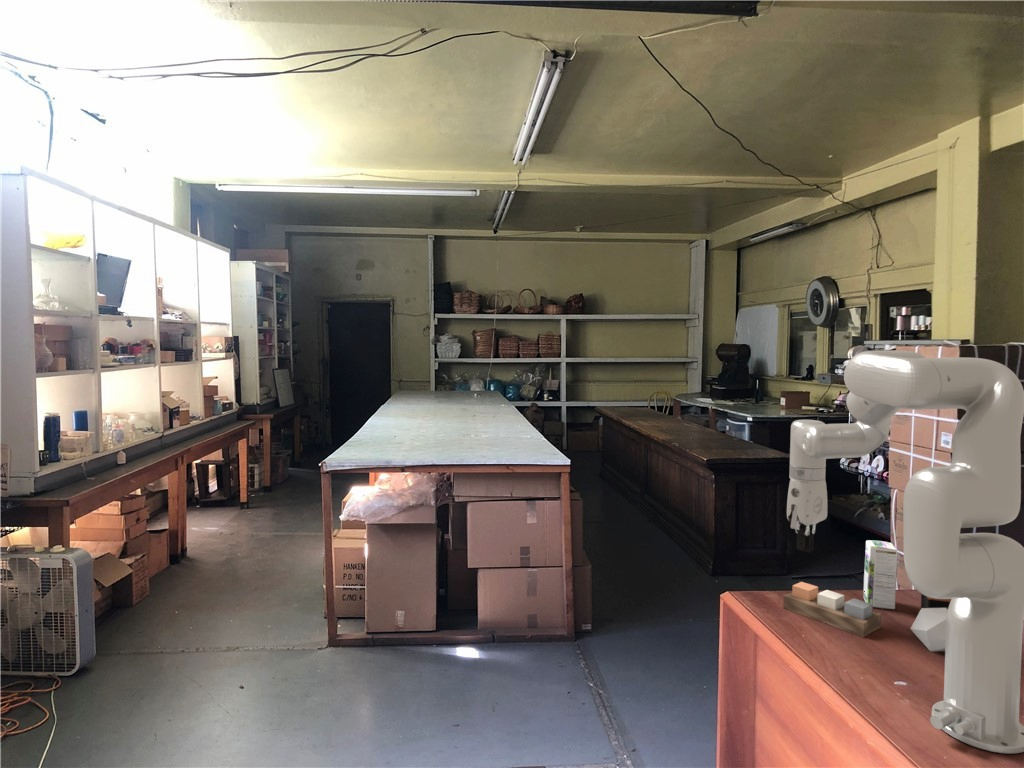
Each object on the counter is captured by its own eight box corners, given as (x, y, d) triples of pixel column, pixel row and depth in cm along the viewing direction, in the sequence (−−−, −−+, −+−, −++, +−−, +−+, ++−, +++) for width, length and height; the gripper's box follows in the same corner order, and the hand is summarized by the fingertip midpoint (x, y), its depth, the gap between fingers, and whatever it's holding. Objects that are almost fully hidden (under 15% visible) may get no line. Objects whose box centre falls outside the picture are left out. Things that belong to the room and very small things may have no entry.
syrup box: (862, 597, 149) (864, 539, 148) (890, 600, 147) (891, 541, 146) (867, 606, 143) (869, 546, 143) (896, 610, 141) (898, 549, 141)
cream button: (844, 608, 137) (844, 595, 137) (835, 612, 135) (835, 599, 135) (826, 602, 141) (826, 589, 140) (817, 606, 138) (817, 593, 138)
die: (965, 666, 118) (981, 620, 120) (923, 641, 119) (939, 596, 122) (937, 660, 125) (952, 618, 128) (897, 637, 127) (913, 595, 129)
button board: (881, 627, 133) (881, 613, 133) (863, 637, 128) (863, 623, 128) (801, 599, 148) (802, 587, 147) (783, 608, 143) (783, 595, 143)
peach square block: (818, 599, 142) (818, 586, 142) (808, 603, 140) (809, 590, 140) (801, 593, 145) (801, 581, 145) (792, 597, 143) (792, 585, 143)
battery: (927, 624, 134) (929, 580, 134) (920, 612, 140) (921, 569, 140) (951, 627, 132) (952, 582, 132) (942, 615, 139) (944, 572, 138)
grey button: (872, 617, 132) (872, 604, 132) (863, 622, 130) (863, 608, 130) (853, 611, 136) (853, 598, 136) (844, 615, 133) (844, 602, 133)
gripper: (805, 480, 134) (802, 561, 135) (839, 471, 142) (837, 548, 144) (773, 474, 140) (771, 552, 141) (808, 466, 149) (806, 539, 150)
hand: (804, 550), depth 143 cm, fingers closed
